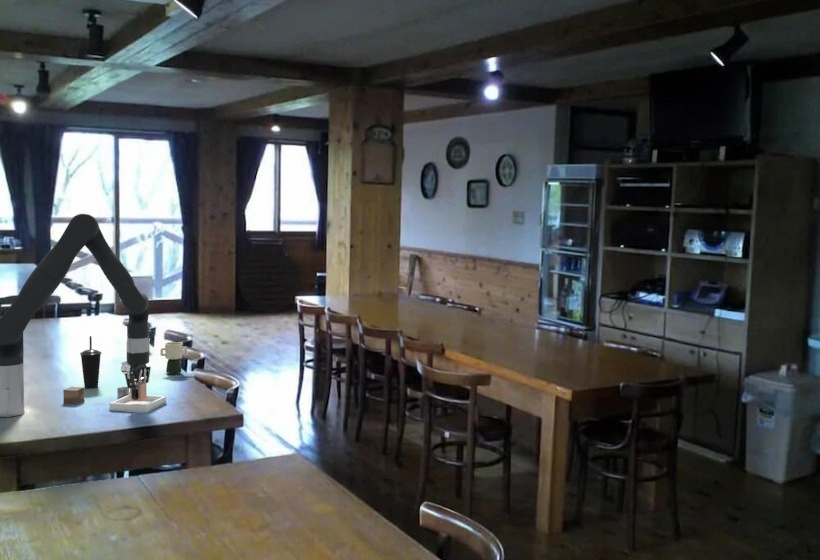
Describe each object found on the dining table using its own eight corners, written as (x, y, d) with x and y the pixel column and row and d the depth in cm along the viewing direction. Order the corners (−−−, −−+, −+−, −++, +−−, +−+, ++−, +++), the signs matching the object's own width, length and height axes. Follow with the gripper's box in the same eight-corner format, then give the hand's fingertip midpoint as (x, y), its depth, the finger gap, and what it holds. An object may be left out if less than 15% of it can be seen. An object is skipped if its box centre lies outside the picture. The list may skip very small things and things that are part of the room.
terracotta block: (140, 401, 279) (140, 384, 279) (130, 400, 280) (130, 384, 279) (146, 398, 283) (146, 382, 283) (136, 398, 284) (135, 381, 283)
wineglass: (134, 396, 295) (133, 365, 294) (117, 395, 297) (117, 363, 296) (143, 392, 302) (143, 361, 301) (127, 391, 303) (127, 360, 302)
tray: (146, 412, 274) (146, 405, 273) (109, 410, 276) (109, 403, 276) (166, 403, 287) (166, 396, 287) (130, 400, 290) (130, 393, 289)
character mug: (185, 371, 342) (184, 341, 341) (188, 374, 336) (188, 343, 335) (158, 372, 337) (158, 342, 336) (162, 376, 331) (162, 345, 330)
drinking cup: (80, 385, 311) (80, 335, 309) (101, 384, 314) (101, 334, 312) (80, 390, 304) (79, 338, 302) (101, 388, 307) (101, 337, 305)
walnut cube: (76, 404, 283) (76, 390, 283) (63, 403, 284) (63, 389, 284) (84, 401, 288) (84, 387, 288) (71, 400, 289) (71, 386, 288)
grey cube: (125, 400, 290) (125, 389, 290) (115, 399, 291) (115, 389, 290) (131, 397, 294) (131, 387, 294) (121, 397, 295) (121, 386, 294)
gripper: (138, 346, 287) (138, 392, 289) (117, 353, 273) (117, 402, 275) (157, 347, 286) (158, 394, 288) (137, 354, 272) (137, 403, 274)
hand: (138, 397), depth 281 cm, fingers closed on terracotta block, 4 cm apart
